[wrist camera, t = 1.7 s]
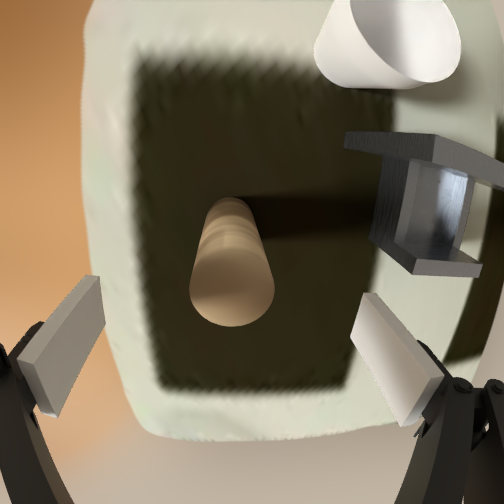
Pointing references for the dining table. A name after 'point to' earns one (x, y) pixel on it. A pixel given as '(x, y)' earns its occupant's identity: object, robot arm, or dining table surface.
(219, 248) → the wooden dowel
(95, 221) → the dining table surface
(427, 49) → the cup
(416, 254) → the bracket
